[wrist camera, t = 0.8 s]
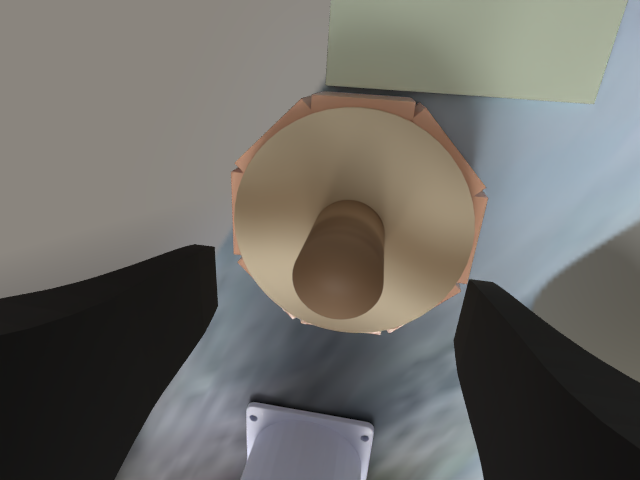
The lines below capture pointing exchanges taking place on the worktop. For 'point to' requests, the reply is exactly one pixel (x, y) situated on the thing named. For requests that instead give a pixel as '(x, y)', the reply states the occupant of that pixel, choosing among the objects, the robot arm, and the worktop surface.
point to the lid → (354, 220)
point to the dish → (388, 104)
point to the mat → (474, 46)
